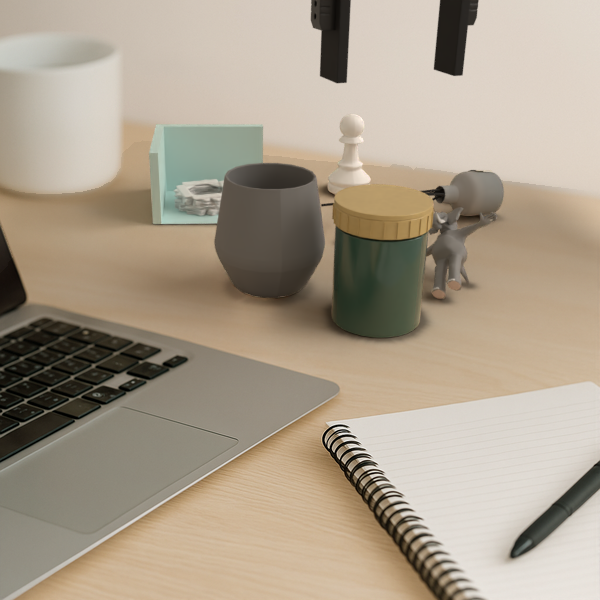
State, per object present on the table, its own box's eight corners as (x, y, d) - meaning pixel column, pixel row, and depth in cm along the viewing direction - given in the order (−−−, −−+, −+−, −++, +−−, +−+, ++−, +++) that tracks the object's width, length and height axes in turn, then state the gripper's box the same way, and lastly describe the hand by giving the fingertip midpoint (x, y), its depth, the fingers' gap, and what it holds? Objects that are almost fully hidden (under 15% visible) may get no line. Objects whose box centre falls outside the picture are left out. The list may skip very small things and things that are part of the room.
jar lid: (420, 206, 68) (422, 183, 67) (442, 240, 61) (444, 216, 60) (327, 206, 67) (328, 183, 66) (338, 240, 60) (339, 216, 59)
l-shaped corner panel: (152, 224, 86) (148, 153, 82) (159, 188, 96) (156, 124, 93) (268, 222, 87) (269, 152, 84) (262, 187, 98) (262, 124, 94)
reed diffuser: (522, 163, 86) (357, 165, 77) (526, 229, 86) (363, 239, 77) (460, 176, 95) (307, 179, 86) (465, 236, 96) (312, 246, 87)
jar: (410, 297, 71) (420, 190, 67) (428, 337, 65) (440, 221, 60) (326, 298, 70) (331, 190, 66) (336, 338, 64) (342, 221, 60)
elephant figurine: (378, 295, 72) (387, 227, 78) (421, 334, 74) (427, 265, 80) (475, 244, 66) (476, 175, 72) (517, 288, 68) (515, 218, 75)
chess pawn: (323, 184, 99) (326, 109, 95) (364, 183, 100) (369, 108, 96) (332, 198, 95) (335, 119, 91) (374, 196, 95) (379, 119, 92)
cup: (209, 268, 76) (206, 161, 71) (308, 261, 78) (311, 157, 73) (225, 313, 67) (223, 196, 63) (335, 304, 69) (340, 190, 65)
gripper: (525, -279, 57) (485, 60, 66) (228, -320, 48) (232, 74, 58) (603, -300, 50) (546, 77, 60) (278, -350, 42) (273, 95, 52)
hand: (392, 75), depth 59 cm, fingers open, 9 cm apart
